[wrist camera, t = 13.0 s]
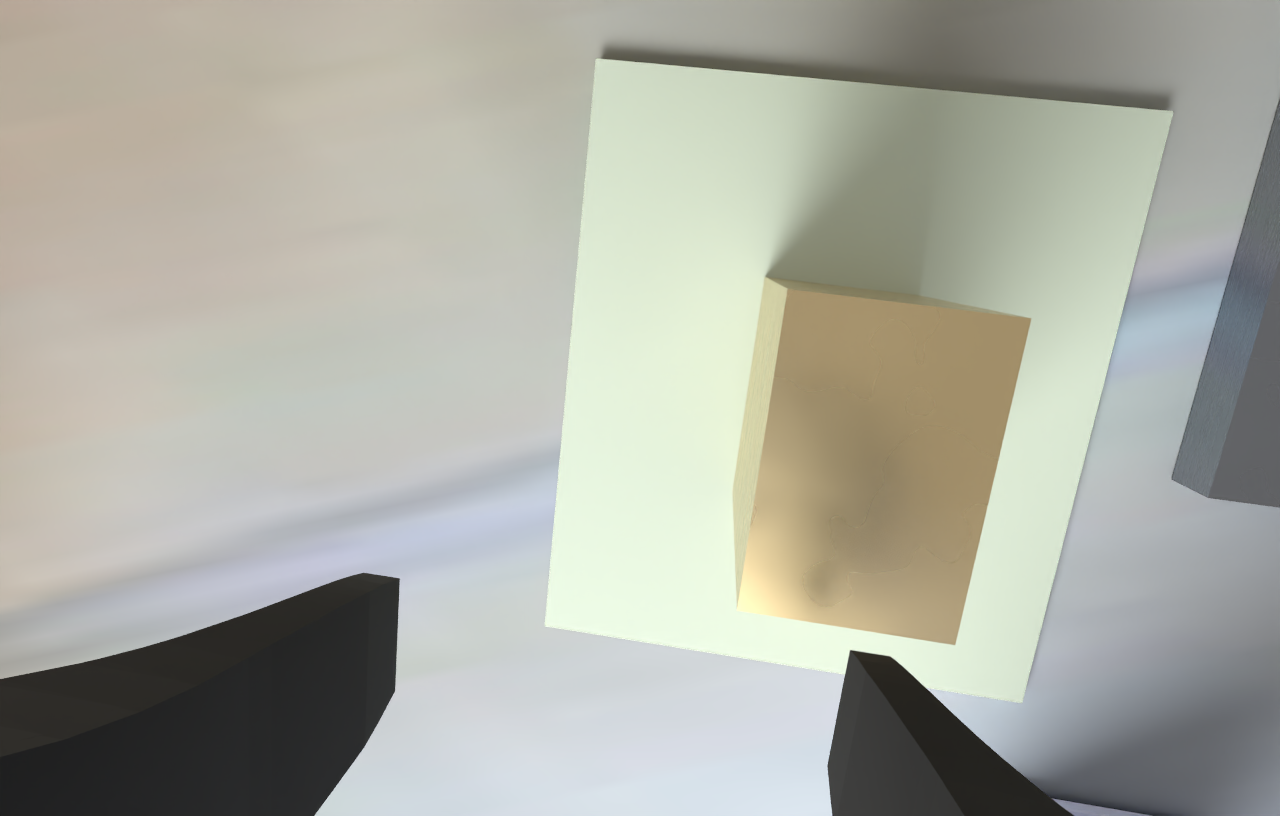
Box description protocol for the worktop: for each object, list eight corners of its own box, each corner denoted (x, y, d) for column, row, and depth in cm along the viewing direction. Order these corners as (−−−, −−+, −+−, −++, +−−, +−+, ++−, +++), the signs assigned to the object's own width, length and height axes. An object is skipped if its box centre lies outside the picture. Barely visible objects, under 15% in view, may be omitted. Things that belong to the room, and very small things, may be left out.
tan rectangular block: (876, 512, 20) (955, 645, 13) (732, 491, 20) (737, 610, 14) (919, 295, 19) (1031, 318, 12) (764, 276, 19) (787, 288, 12)
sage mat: (1016, 694, 21) (1022, 703, 21) (547, 619, 22) (544, 626, 22) (1163, 114, 18) (1174, 111, 17) (598, 62, 19) (595, 58, 18)
